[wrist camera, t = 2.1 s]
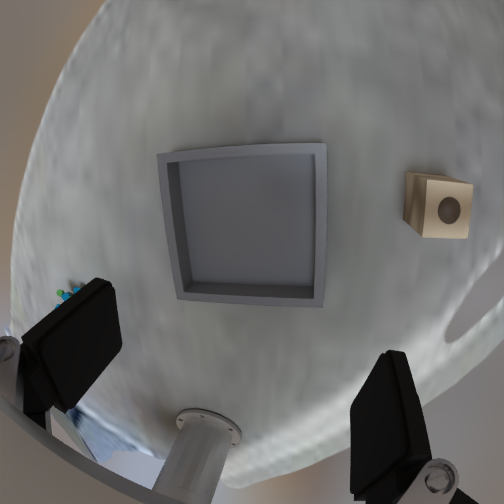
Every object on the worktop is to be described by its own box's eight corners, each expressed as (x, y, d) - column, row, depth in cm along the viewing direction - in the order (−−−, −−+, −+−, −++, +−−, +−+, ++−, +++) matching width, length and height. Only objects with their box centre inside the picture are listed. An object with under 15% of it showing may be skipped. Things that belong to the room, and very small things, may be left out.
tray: (322, 291, 32) (322, 307, 29) (188, 285, 35) (177, 299, 32) (324, 143, 26) (326, 143, 23) (172, 152, 29) (157, 154, 26)
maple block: (442, 221, 26) (467, 239, 20) (403, 219, 27) (422, 237, 22) (446, 175, 24) (474, 184, 19) (405, 171, 25) (427, 179, 20)
